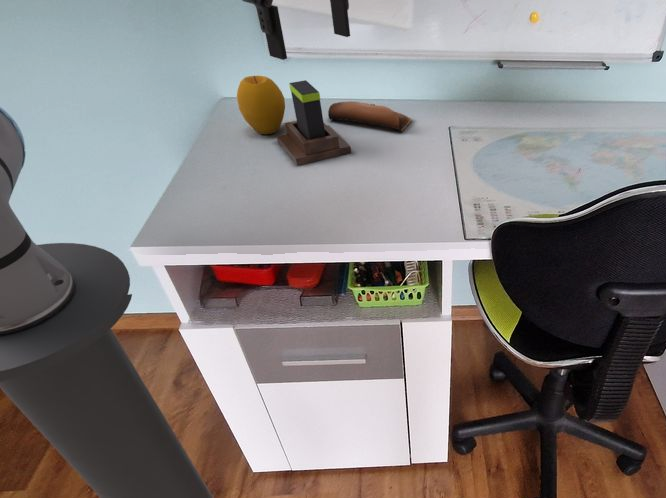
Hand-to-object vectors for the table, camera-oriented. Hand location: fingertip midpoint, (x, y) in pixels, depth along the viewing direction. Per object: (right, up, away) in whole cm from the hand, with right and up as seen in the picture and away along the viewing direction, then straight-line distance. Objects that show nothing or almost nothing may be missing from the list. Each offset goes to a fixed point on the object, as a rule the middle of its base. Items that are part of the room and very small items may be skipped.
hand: (312, 45), depth 82 cm
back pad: (-9, -2, +33) cm, 35 cm away
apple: (-21, +3, +39) cm, 45 cm away
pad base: (-9, -3, +34) cm, 36 cm away
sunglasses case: (+1, +7, +45) cm, 45 cm away
